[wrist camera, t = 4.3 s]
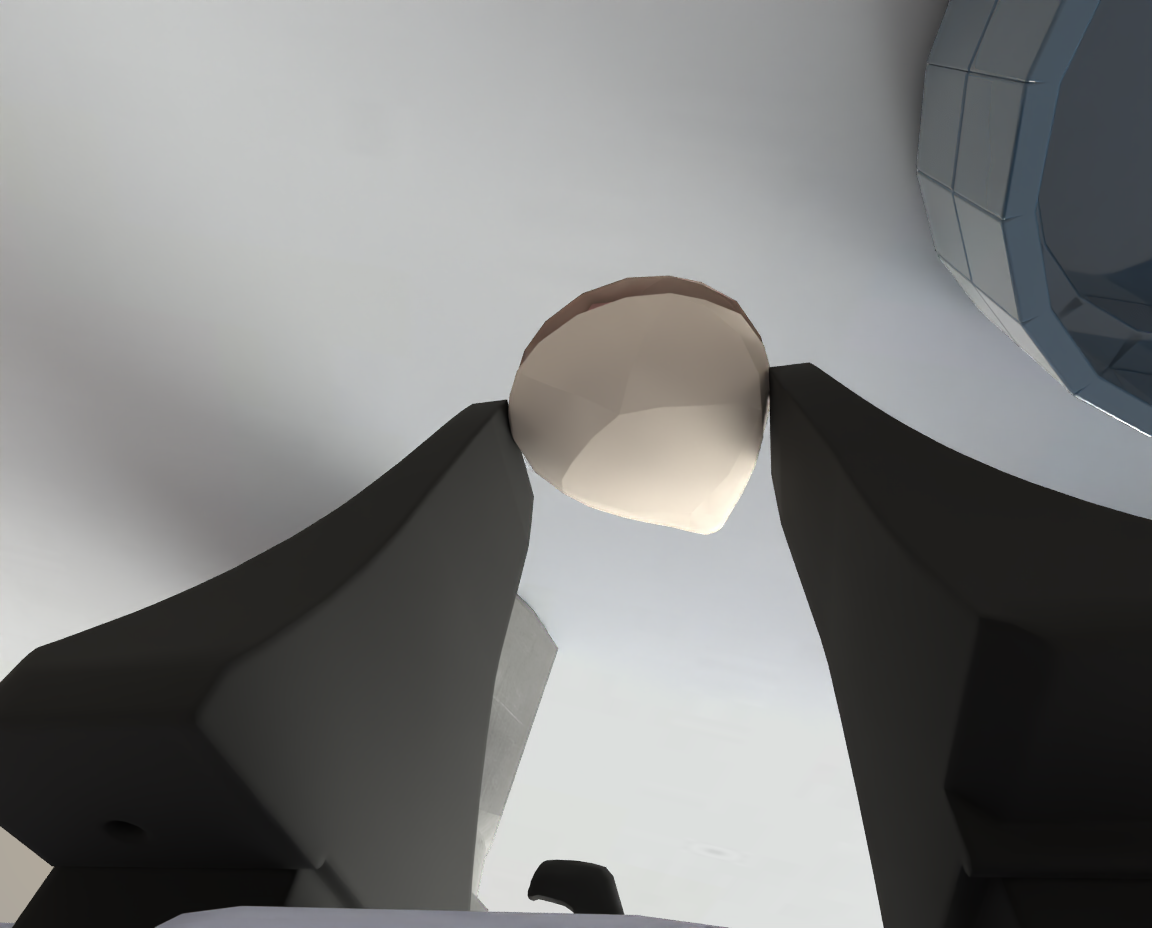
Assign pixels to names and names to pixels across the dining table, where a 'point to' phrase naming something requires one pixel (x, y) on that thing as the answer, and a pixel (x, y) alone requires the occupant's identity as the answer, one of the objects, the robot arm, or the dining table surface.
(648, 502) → the beige pebble
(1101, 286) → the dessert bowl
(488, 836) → the coffeepot
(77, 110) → the dining table surface
